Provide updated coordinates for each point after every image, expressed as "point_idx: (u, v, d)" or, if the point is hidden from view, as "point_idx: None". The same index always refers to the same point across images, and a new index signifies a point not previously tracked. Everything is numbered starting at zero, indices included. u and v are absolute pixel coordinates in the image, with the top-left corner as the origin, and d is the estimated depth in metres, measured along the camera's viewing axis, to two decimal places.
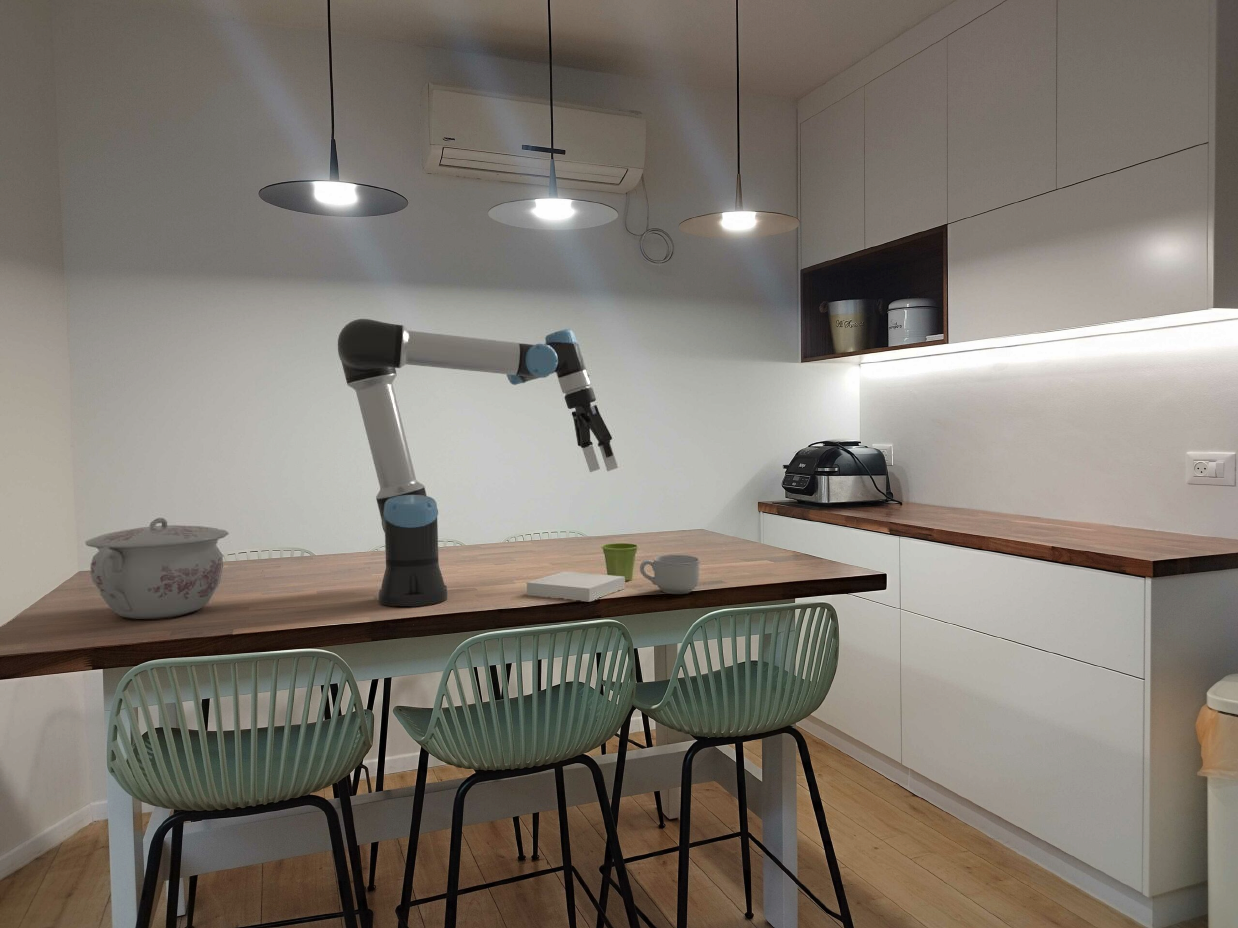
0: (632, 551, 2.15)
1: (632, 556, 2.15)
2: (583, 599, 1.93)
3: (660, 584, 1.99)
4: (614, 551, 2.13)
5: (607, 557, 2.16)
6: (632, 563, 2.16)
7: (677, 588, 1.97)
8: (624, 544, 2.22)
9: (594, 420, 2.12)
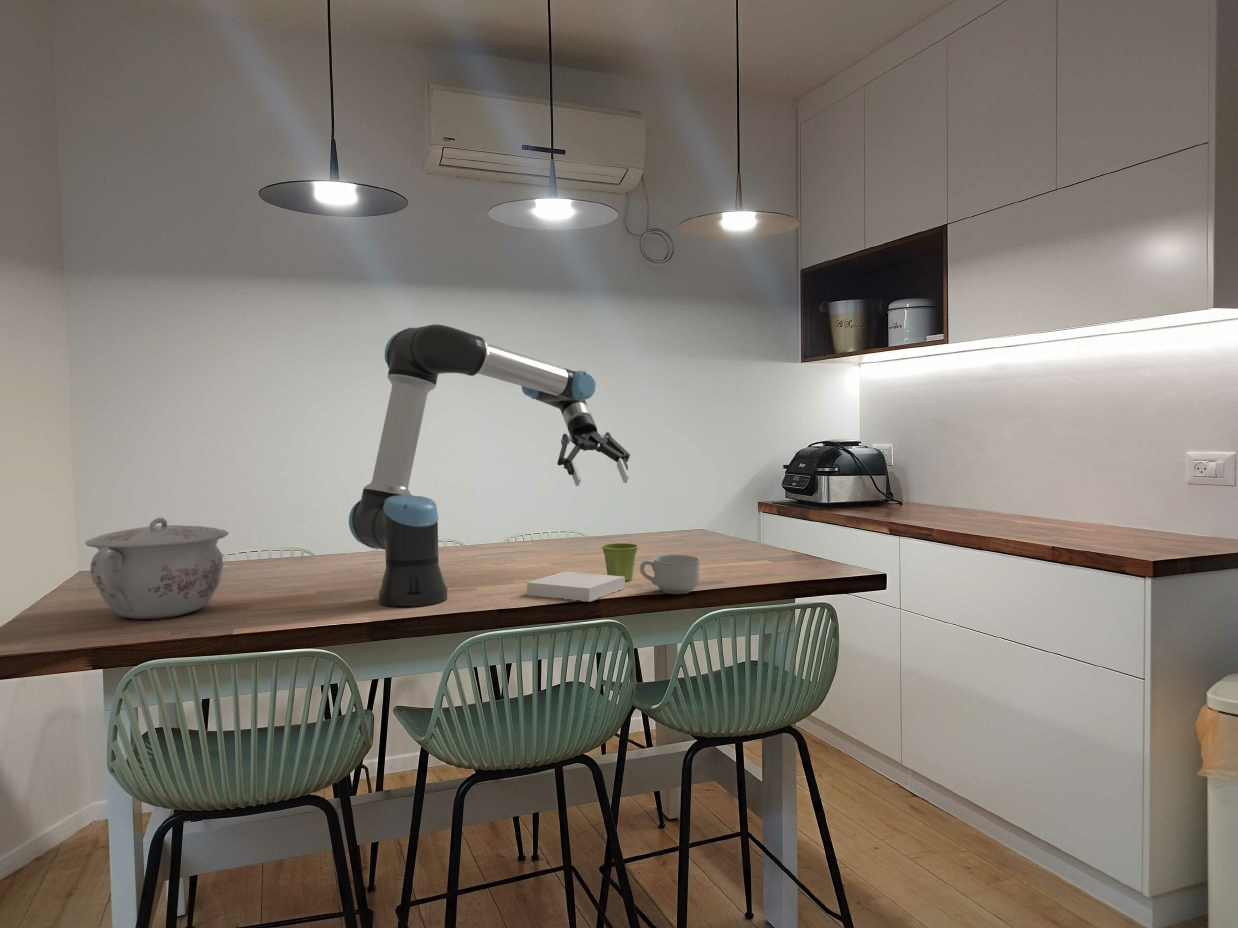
0: (632, 551, 2.15)
1: (632, 556, 2.15)
2: (583, 599, 1.93)
3: (660, 584, 1.99)
4: (614, 551, 2.13)
5: (607, 557, 2.16)
6: (632, 563, 2.16)
7: (677, 588, 1.97)
8: (624, 544, 2.22)
9: None
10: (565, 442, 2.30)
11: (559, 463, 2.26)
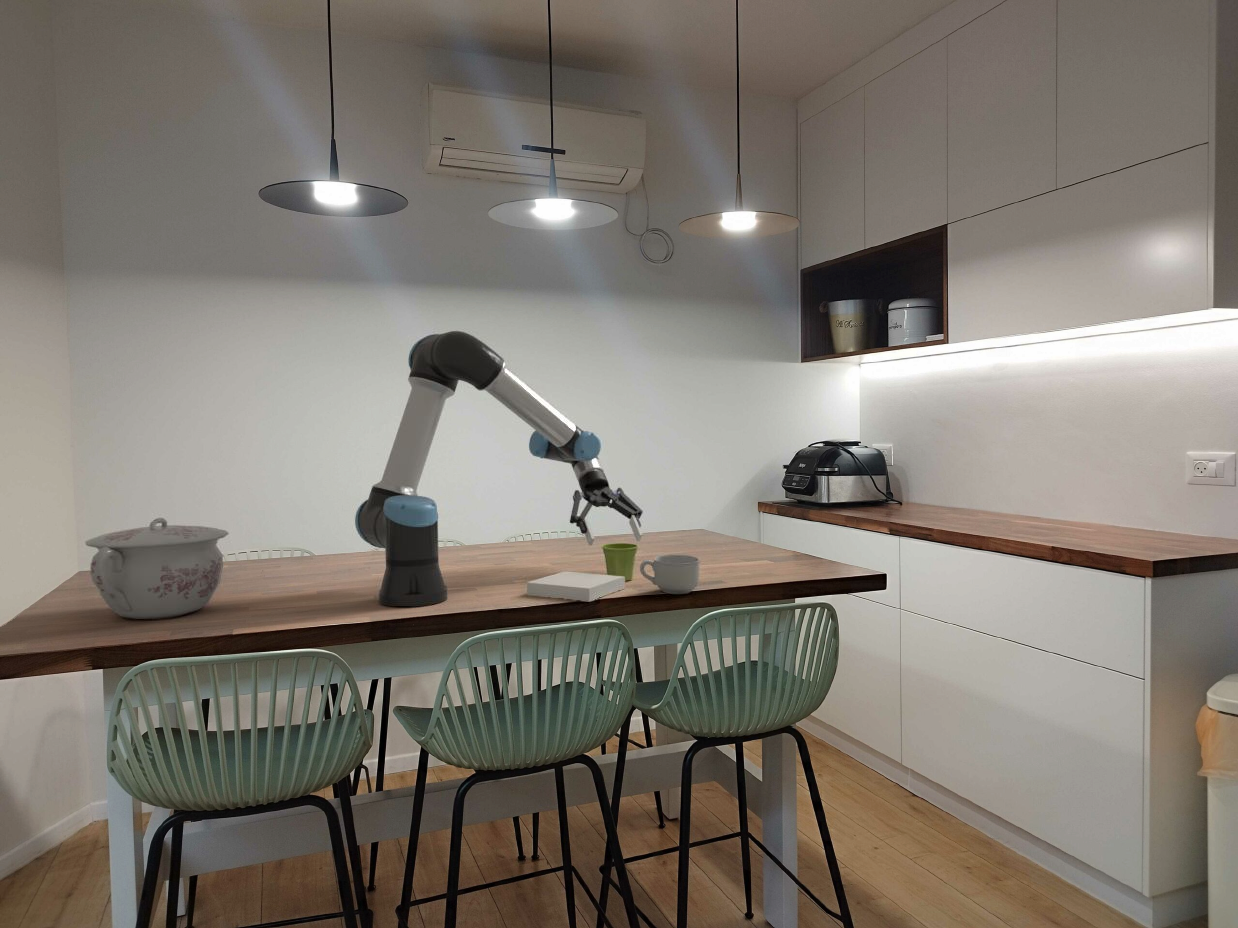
0: (632, 551, 2.15)
1: (632, 556, 2.15)
2: (583, 599, 1.93)
3: (660, 584, 1.99)
4: (614, 551, 2.13)
5: (607, 557, 2.16)
6: (632, 563, 2.16)
7: (677, 588, 1.97)
8: (624, 544, 2.22)
9: None
10: (577, 499, 2.26)
11: (572, 521, 2.23)
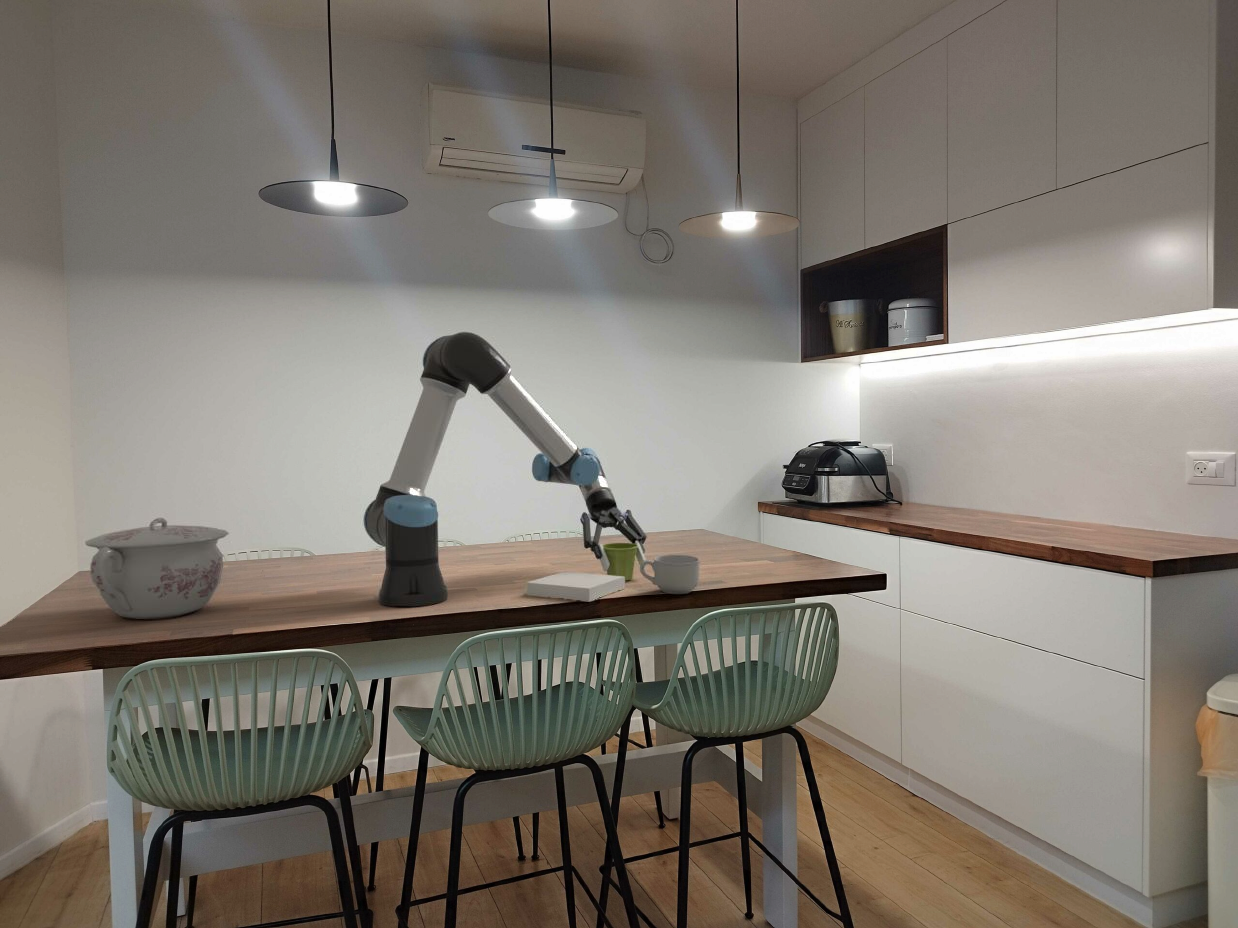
0: (632, 551, 2.15)
1: (632, 556, 2.15)
2: (583, 599, 1.93)
3: (660, 584, 1.99)
4: (614, 550, 2.13)
5: (607, 557, 2.16)
6: (632, 563, 2.16)
7: (677, 588, 1.97)
8: (624, 544, 2.22)
9: None
10: (587, 522, 2.20)
11: (586, 546, 2.16)
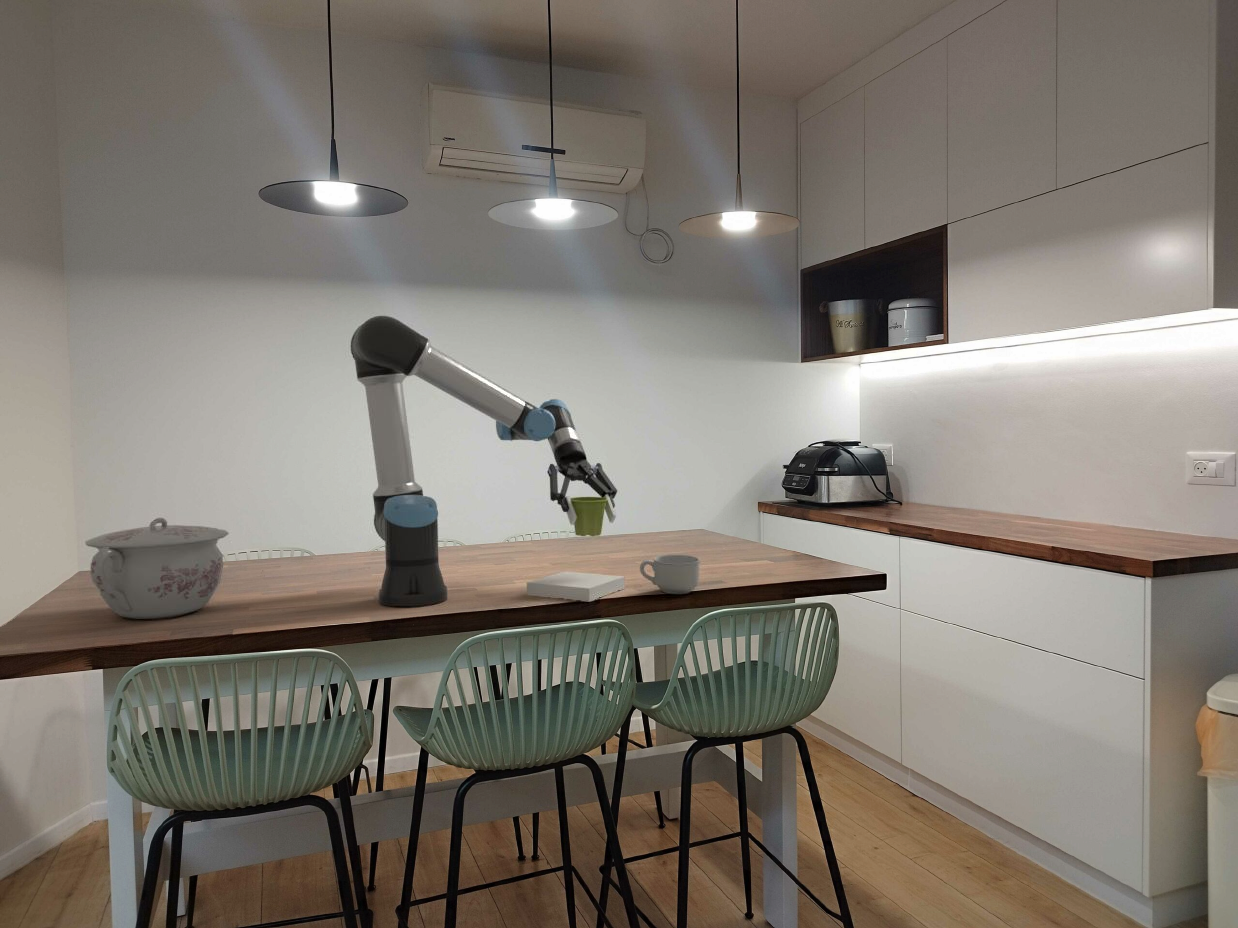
0: (601, 504, 2.03)
1: (601, 509, 2.04)
2: (583, 599, 1.93)
3: (660, 584, 1.99)
4: (582, 503, 2.01)
5: None
6: (601, 517, 2.04)
7: (677, 588, 1.97)
8: (593, 498, 2.10)
9: None
10: (554, 474, 2.08)
11: (552, 498, 2.04)
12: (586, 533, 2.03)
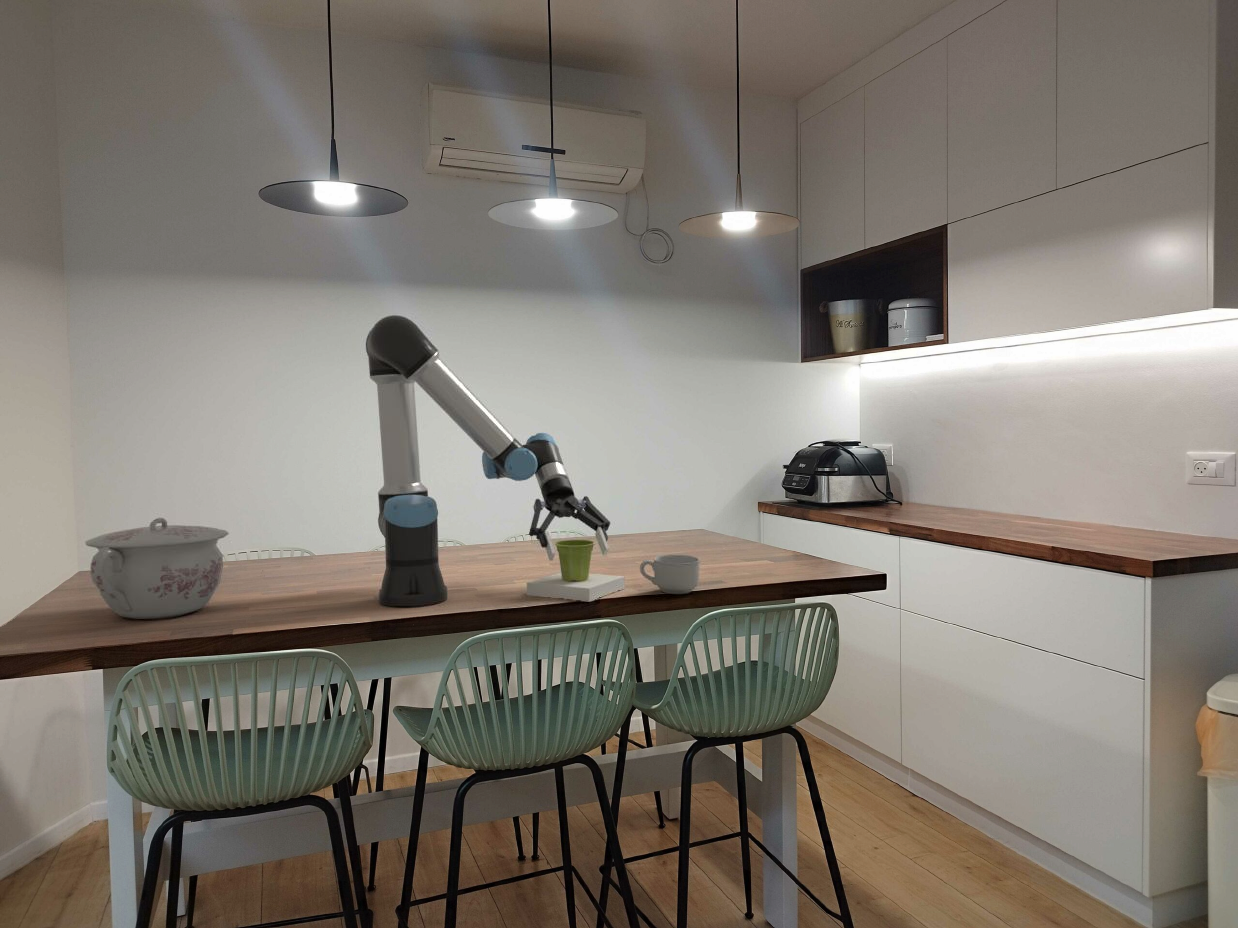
0: (588, 549, 2.00)
1: (587, 554, 2.00)
2: (583, 599, 1.93)
3: (660, 584, 1.99)
4: (568, 548, 1.98)
5: (560, 555, 2.01)
6: (588, 561, 2.01)
7: (677, 588, 1.97)
8: (581, 541, 2.07)
9: None
10: (538, 509, 2.05)
11: (531, 534, 2.01)
12: (572, 578, 2.00)
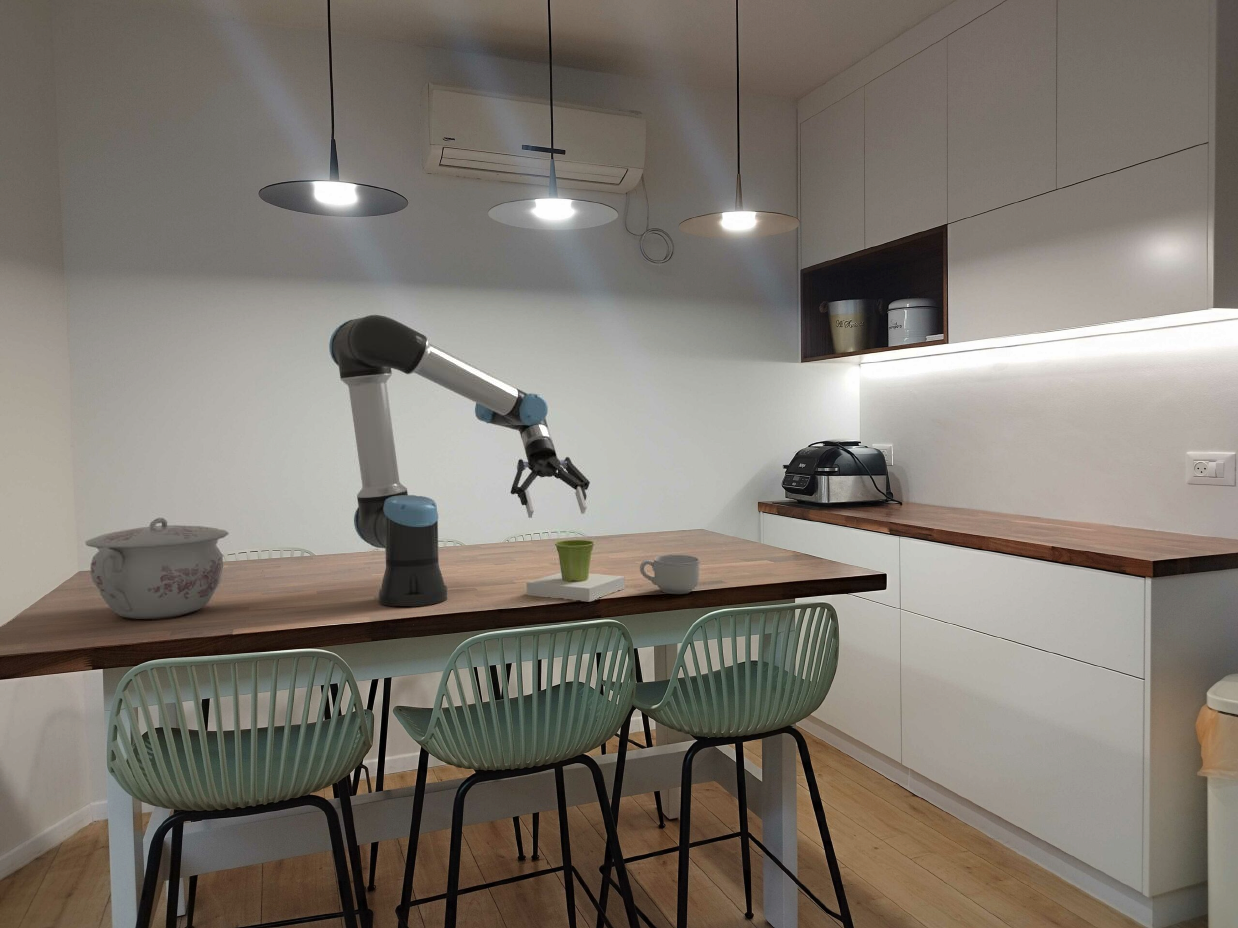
0: (587, 549, 2.00)
1: (587, 554, 2.00)
2: (583, 599, 1.93)
3: (660, 584, 1.99)
4: (567, 548, 1.98)
5: (560, 555, 2.01)
6: (587, 561, 2.01)
7: (677, 588, 1.97)
8: (580, 541, 2.07)
9: None
10: (520, 469, 2.17)
11: (512, 492, 2.13)
12: (572, 578, 2.00)
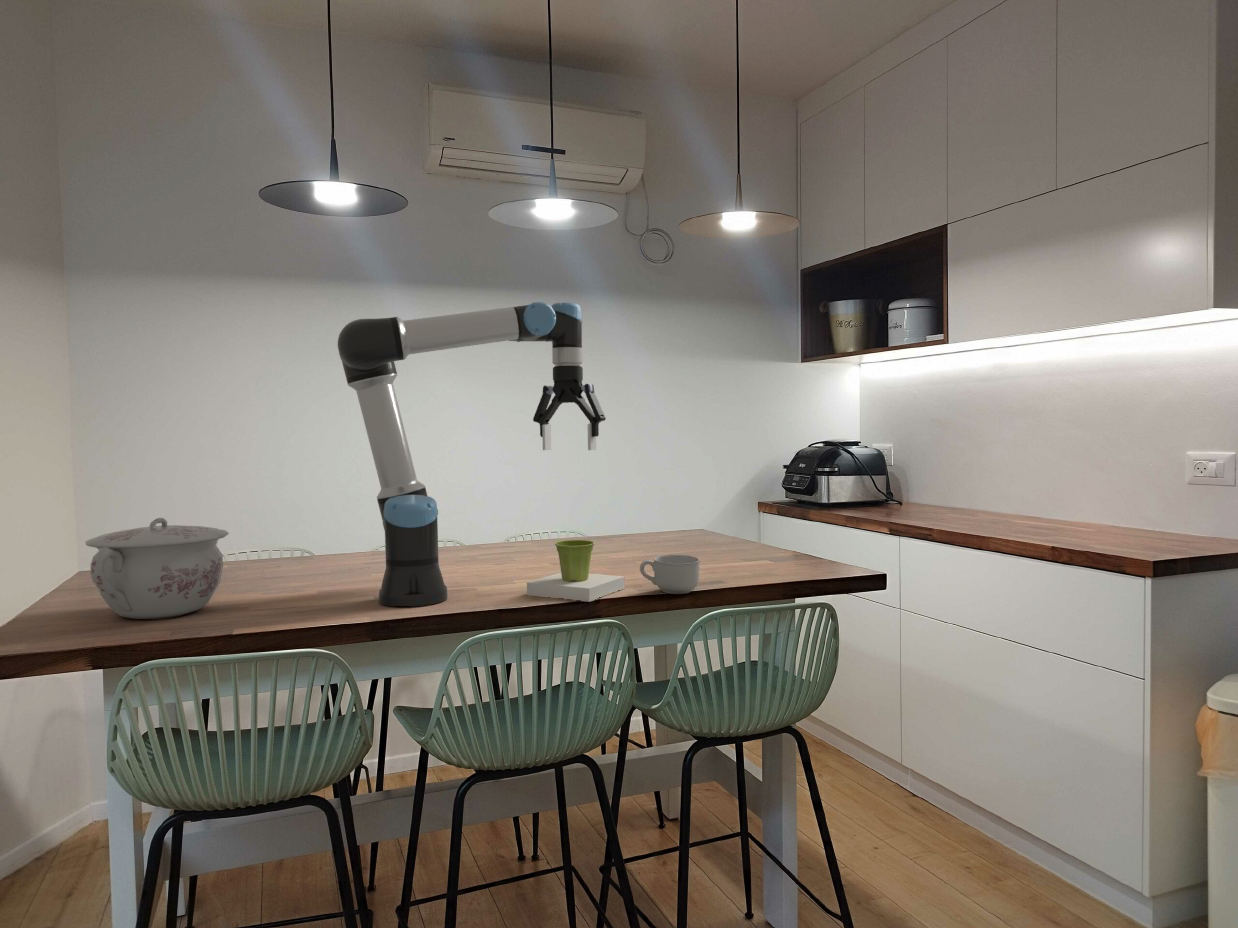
0: (587, 549, 2.00)
1: (587, 554, 2.00)
2: (583, 599, 1.93)
3: (660, 584, 1.99)
4: (567, 548, 1.98)
5: (560, 555, 2.01)
6: (587, 561, 2.01)
7: (677, 588, 1.97)
8: (580, 541, 2.07)
9: (592, 397, 2.14)
10: (542, 398, 2.21)
11: None
12: (572, 578, 2.00)
